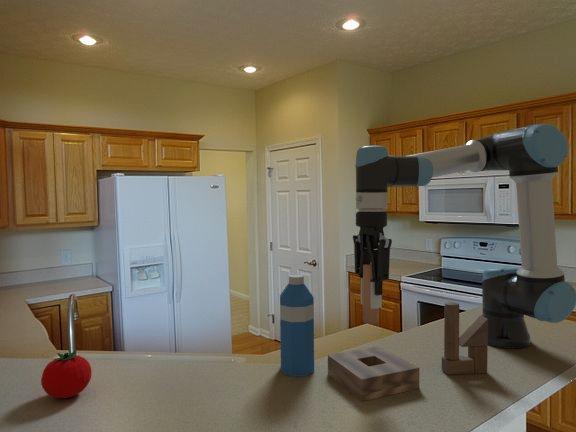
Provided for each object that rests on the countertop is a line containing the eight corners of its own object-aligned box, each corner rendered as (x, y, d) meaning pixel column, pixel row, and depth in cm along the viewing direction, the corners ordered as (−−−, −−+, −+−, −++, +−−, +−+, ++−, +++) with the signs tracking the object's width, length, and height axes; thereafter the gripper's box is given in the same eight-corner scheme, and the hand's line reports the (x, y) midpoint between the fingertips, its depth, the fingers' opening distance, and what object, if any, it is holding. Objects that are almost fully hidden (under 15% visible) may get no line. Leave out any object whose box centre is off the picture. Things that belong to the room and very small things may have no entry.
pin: (372, 318, 106) (373, 263, 105) (381, 322, 102) (382, 265, 102) (359, 320, 104) (360, 264, 104) (368, 324, 101) (368, 266, 100)
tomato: (58, 385, 103) (57, 345, 103) (100, 385, 103) (99, 345, 102) (31, 406, 93) (29, 362, 92) (77, 407, 92) (76, 362, 92)
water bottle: (318, 364, 114) (318, 273, 113) (309, 378, 106) (308, 280, 104) (286, 360, 117) (285, 272, 116) (274, 374, 109) (273, 278, 108)
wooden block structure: (487, 373, 108) (488, 304, 107) (447, 375, 107) (447, 305, 106) (480, 367, 111) (480, 300, 110) (441, 369, 110) (441, 301, 109)
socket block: (379, 363, 114) (379, 345, 114) (419, 388, 100) (419, 367, 99) (327, 373, 108) (327, 354, 108) (361, 401, 93) (361, 379, 93)
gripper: (340, 209, 108) (340, 299, 109) (378, 211, 93) (377, 316, 94) (365, 209, 111) (365, 297, 112) (406, 211, 96) (405, 312, 97)
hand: (370, 305), depth 103 cm, fingers closed on pin, 4 cm apart
